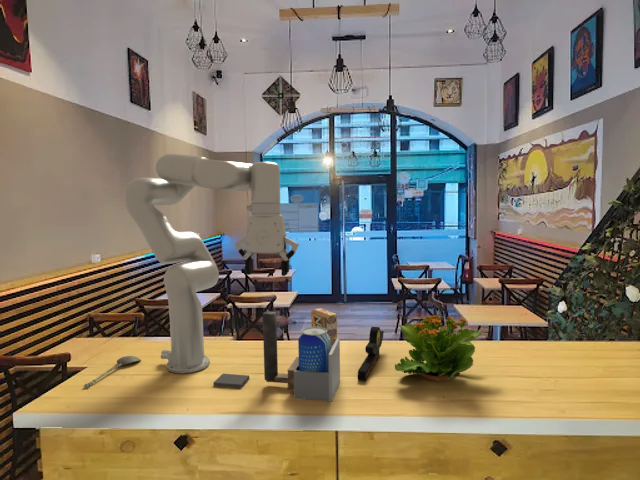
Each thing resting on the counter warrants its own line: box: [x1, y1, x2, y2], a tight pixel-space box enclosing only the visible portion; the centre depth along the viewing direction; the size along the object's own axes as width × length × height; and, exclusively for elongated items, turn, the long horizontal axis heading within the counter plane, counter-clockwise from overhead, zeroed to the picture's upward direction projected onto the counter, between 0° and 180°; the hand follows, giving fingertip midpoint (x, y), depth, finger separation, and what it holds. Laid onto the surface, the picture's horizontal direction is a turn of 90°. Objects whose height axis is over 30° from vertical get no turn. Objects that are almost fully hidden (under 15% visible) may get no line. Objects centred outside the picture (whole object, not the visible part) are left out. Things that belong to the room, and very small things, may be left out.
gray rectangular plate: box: [212, 373, 250, 389], centre depth 119 cm, size 8×6×1 cm
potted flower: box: [394, 314, 482, 382], centre depth 122 cm, size 25×24×18 cm
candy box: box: [310, 307, 338, 349], centre depth 134 cm, size 9×4×15 cm, turn 33°
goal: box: [293, 338, 341, 402], centre depth 114 cm, size 10×12×12 cm
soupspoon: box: [83, 355, 142, 389], centre depth 127 cm, size 22×3×7 cm
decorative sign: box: [357, 326, 385, 382], centre depth 131 cm, size 27×2×10 cm, turn 161°
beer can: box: [297, 326, 331, 373], centre depth 113 cm, size 8×8×16 cm
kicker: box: [262, 311, 299, 391], centre depth 115 cm, size 10×9×19 cm
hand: (267, 274), depth 115 cm, fingers open, 9 cm apart
